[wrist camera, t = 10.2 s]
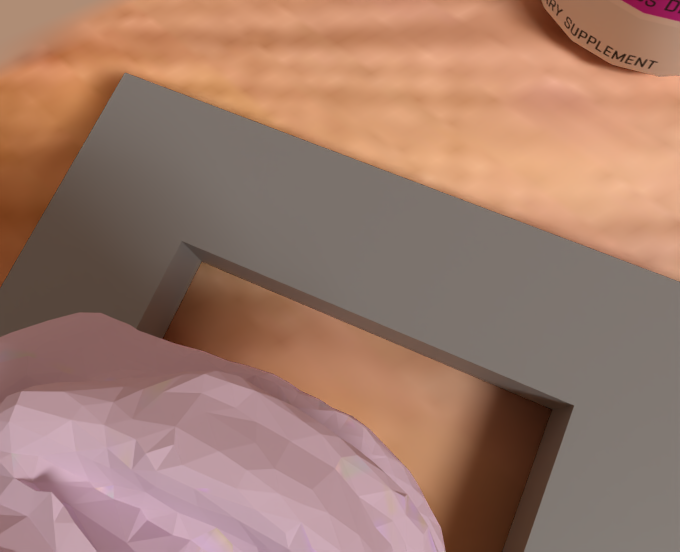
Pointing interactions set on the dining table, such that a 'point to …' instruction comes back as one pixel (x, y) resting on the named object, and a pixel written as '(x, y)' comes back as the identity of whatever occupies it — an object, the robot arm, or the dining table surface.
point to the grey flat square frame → (381, 293)
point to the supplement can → (624, 31)
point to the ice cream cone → (185, 454)
